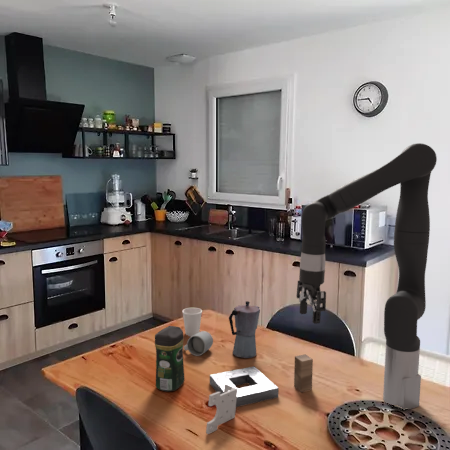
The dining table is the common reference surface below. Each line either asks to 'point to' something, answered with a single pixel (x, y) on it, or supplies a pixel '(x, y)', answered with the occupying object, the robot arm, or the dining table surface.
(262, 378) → the square hole plate
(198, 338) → the ceramic mug
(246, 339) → the moka pot
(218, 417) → the bracket
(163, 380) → the coffee jar
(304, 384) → the tan square peg
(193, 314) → the dixie cup
